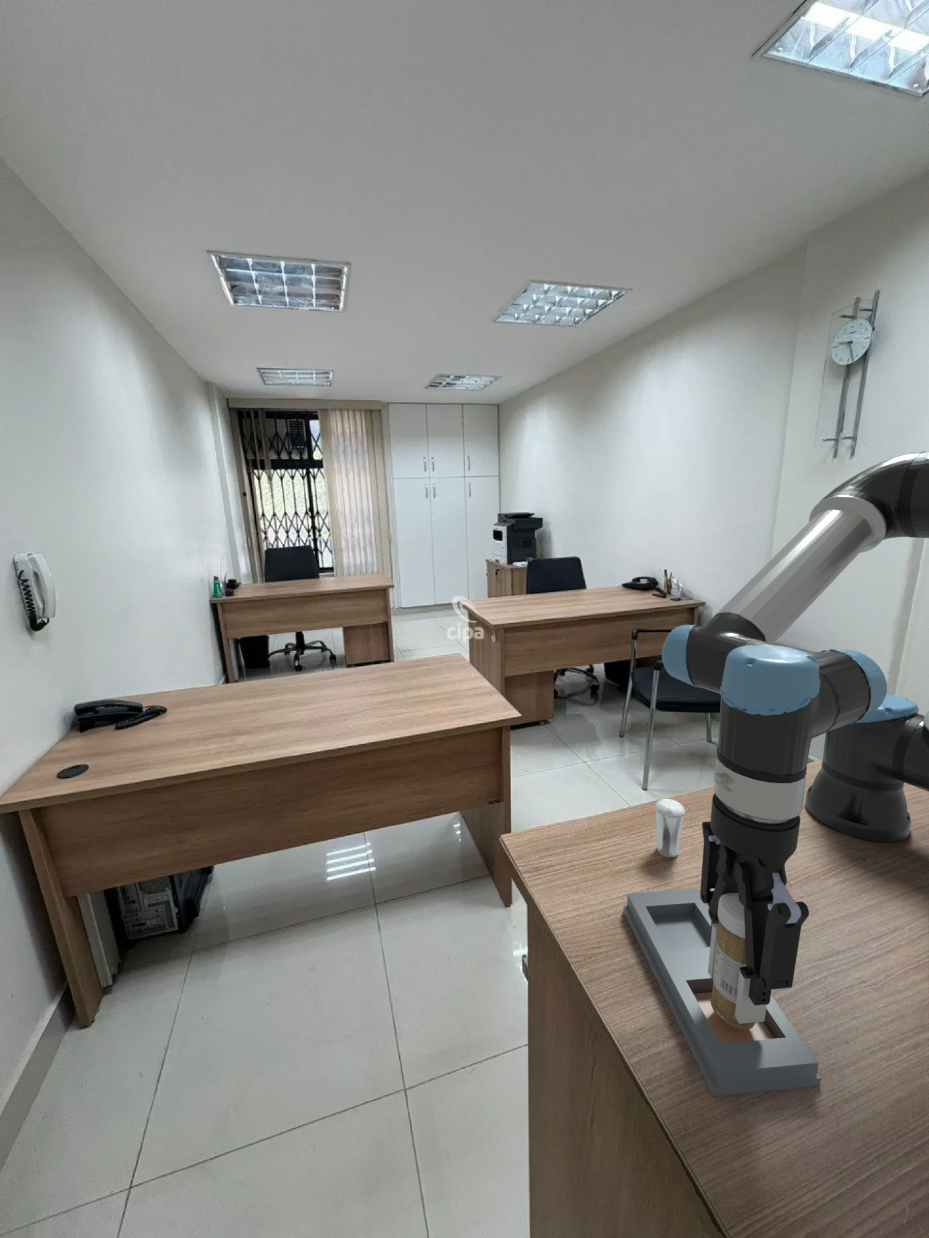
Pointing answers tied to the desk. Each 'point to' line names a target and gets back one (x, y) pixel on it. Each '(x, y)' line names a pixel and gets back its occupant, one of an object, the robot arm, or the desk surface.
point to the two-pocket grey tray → (680, 964)
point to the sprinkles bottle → (729, 960)
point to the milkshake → (669, 826)
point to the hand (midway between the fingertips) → (734, 994)
